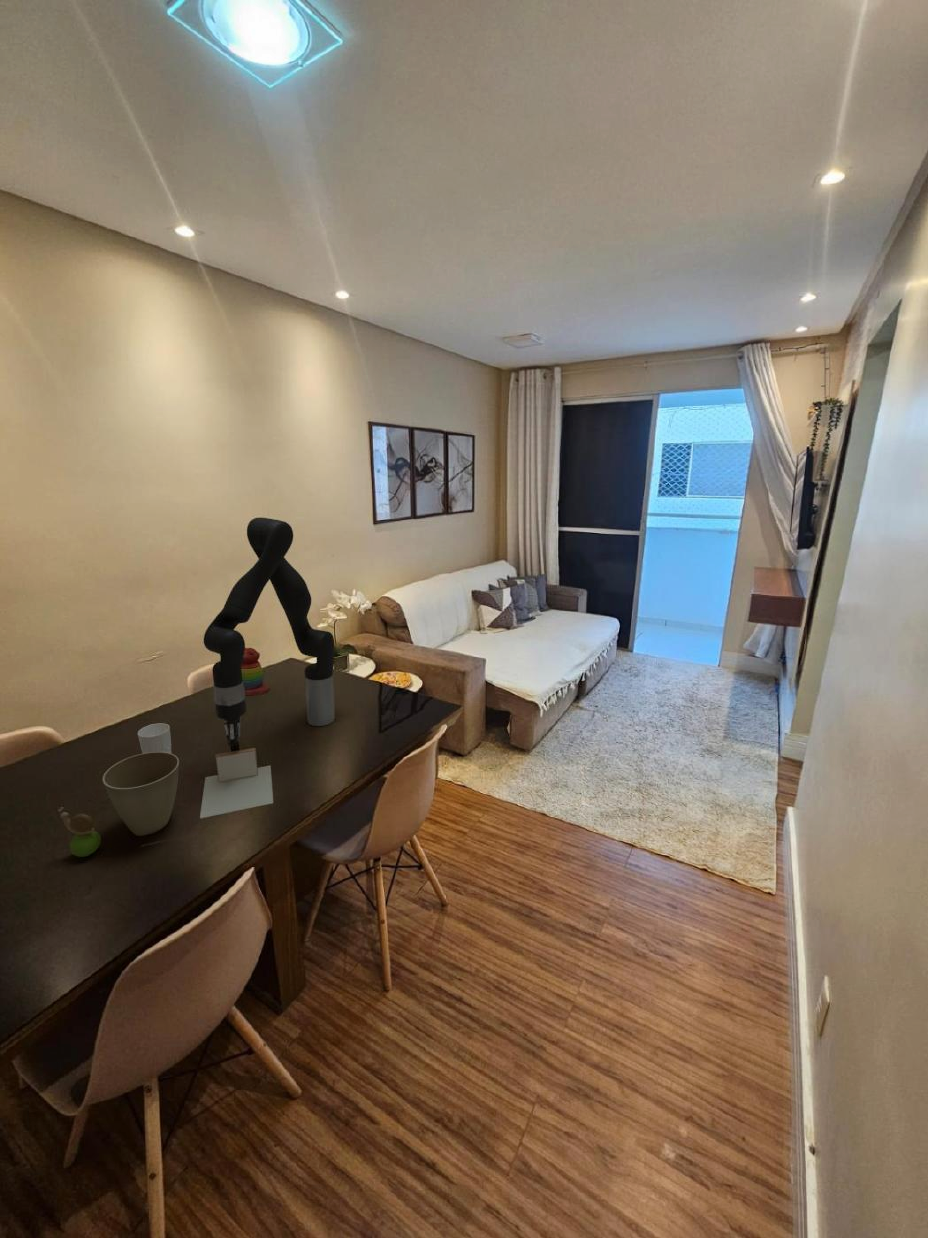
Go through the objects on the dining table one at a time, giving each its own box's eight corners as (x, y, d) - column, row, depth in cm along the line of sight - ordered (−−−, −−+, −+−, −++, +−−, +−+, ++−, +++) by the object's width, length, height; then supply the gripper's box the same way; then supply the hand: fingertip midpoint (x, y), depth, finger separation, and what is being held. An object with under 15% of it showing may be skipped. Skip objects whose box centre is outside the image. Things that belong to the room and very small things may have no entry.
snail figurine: (78, 844, 110) (68, 800, 106) (108, 844, 110) (98, 799, 107) (61, 863, 104) (50, 817, 101) (92, 862, 105) (82, 816, 102)
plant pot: (133, 858, 107) (122, 797, 102) (102, 831, 114) (90, 773, 109) (199, 820, 119) (191, 764, 114) (167, 798, 126) (158, 744, 122)
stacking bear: (271, 691, 189) (268, 649, 184) (245, 698, 182) (241, 655, 177) (259, 682, 196) (255, 641, 191) (234, 689, 189) (229, 647, 184)
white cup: (179, 756, 144) (175, 727, 141) (154, 770, 137) (149, 739, 135) (162, 750, 147) (158, 720, 145) (136, 762, 141) (131, 732, 138)
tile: (218, 779, 134) (215, 754, 131) (257, 772, 138) (255, 747, 135) (218, 782, 132) (215, 757, 130) (257, 775, 136) (255, 750, 134)
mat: (205, 779, 135) (205, 777, 134) (270, 767, 141) (270, 765, 141) (200, 820, 119) (199, 818, 119) (273, 804, 125) (273, 803, 125)
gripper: (216, 690, 135) (222, 744, 140) (212, 710, 123) (219, 769, 128) (245, 686, 138) (250, 740, 143) (244, 706, 126) (250, 764, 131)
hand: (235, 753), depth 135 cm, fingers closed
